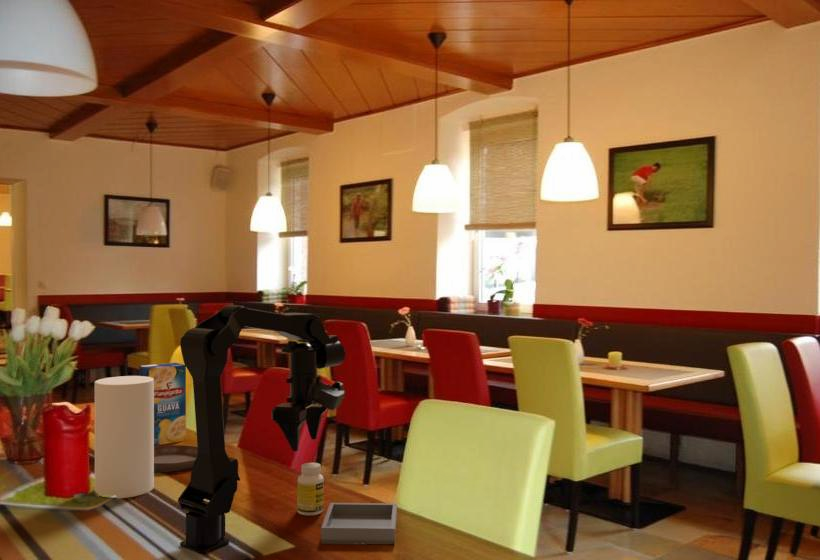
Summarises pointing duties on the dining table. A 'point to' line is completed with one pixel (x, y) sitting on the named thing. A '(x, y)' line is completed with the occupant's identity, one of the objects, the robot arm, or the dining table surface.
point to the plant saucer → (174, 457)
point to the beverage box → (168, 401)
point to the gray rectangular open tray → (359, 523)
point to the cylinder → (124, 436)
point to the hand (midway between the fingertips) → (304, 444)
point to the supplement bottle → (310, 490)
